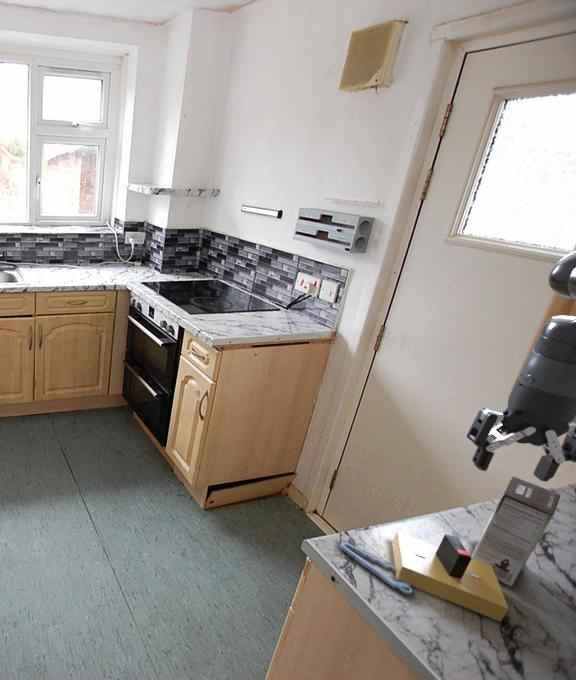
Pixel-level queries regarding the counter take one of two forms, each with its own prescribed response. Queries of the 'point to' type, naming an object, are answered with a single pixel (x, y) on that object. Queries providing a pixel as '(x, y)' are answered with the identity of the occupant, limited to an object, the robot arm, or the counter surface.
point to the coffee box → (515, 528)
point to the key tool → (395, 584)
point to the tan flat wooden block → (448, 577)
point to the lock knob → (453, 556)
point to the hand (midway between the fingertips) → (509, 473)
